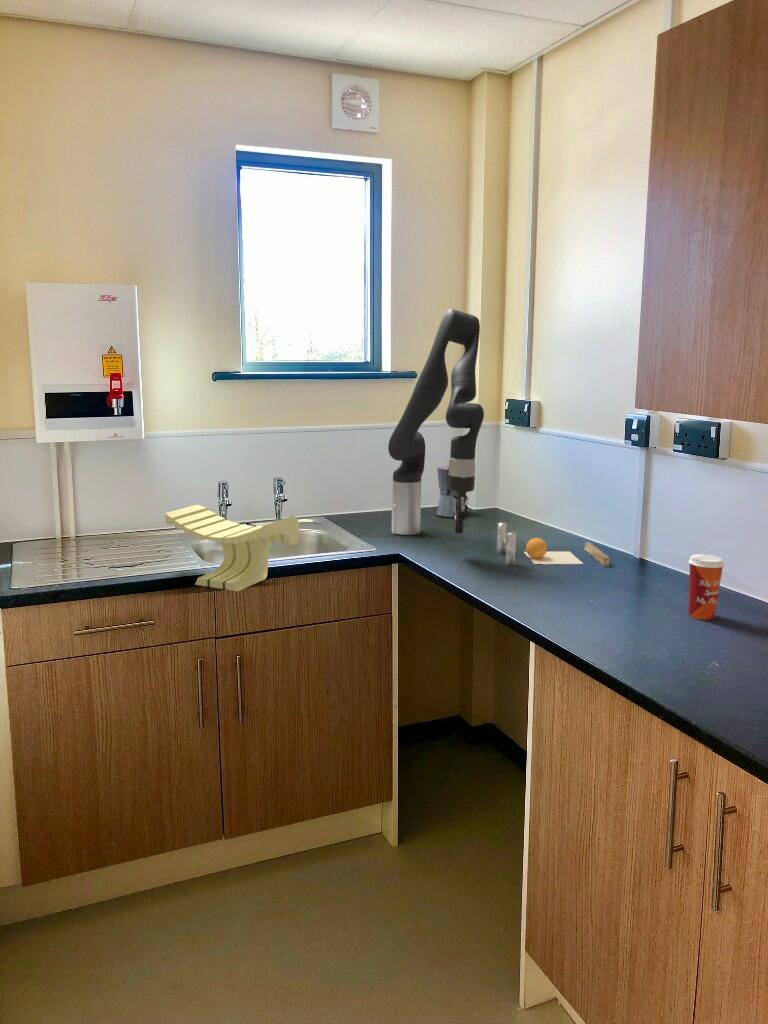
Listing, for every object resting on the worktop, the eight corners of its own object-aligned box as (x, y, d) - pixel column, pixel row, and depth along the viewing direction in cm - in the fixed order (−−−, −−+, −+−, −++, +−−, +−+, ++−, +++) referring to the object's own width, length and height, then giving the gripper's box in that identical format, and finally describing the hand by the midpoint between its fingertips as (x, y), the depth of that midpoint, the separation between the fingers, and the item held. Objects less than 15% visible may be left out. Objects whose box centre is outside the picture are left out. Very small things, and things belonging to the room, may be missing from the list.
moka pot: (462, 512, 308) (464, 458, 304) (462, 520, 293) (464, 464, 289) (436, 511, 309) (438, 457, 305) (435, 520, 294) (436, 463, 290)
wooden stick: (603, 566, 236) (604, 557, 235) (584, 550, 253) (585, 542, 253) (608, 566, 236) (609, 557, 235) (589, 550, 253) (590, 542, 253)
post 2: (506, 565, 235) (508, 534, 233) (504, 563, 238) (506, 532, 236) (515, 565, 235) (517, 534, 233) (513, 562, 238) (515, 532, 236)
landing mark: (534, 564, 236) (534, 563, 236) (523, 552, 250) (523, 551, 250) (583, 564, 237) (583, 563, 237) (569, 552, 251) (569, 551, 251)
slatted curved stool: (299, 579, 218) (298, 513, 215) (266, 596, 204) (265, 525, 201) (205, 565, 231) (203, 502, 227) (168, 580, 216) (165, 513, 213)
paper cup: (701, 623, 188) (706, 563, 186) (676, 613, 195) (681, 555, 192) (727, 619, 191) (733, 560, 189) (702, 609, 198) (707, 552, 196)
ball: (528, 541, 239) (549, 541, 239) (525, 535, 245) (545, 535, 245) (527, 561, 241) (548, 561, 241) (524, 555, 246) (544, 555, 246)
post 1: (497, 553, 248) (498, 524, 246) (495, 551, 250) (496, 522, 249) (506, 553, 248) (507, 524, 246) (504, 551, 251) (505, 522, 249)
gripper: (446, 469, 243) (443, 527, 247) (451, 477, 230) (448, 538, 234) (471, 470, 243) (468, 527, 247) (478, 478, 230) (475, 538, 234)
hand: (458, 532), depth 240 cm, fingers closed
